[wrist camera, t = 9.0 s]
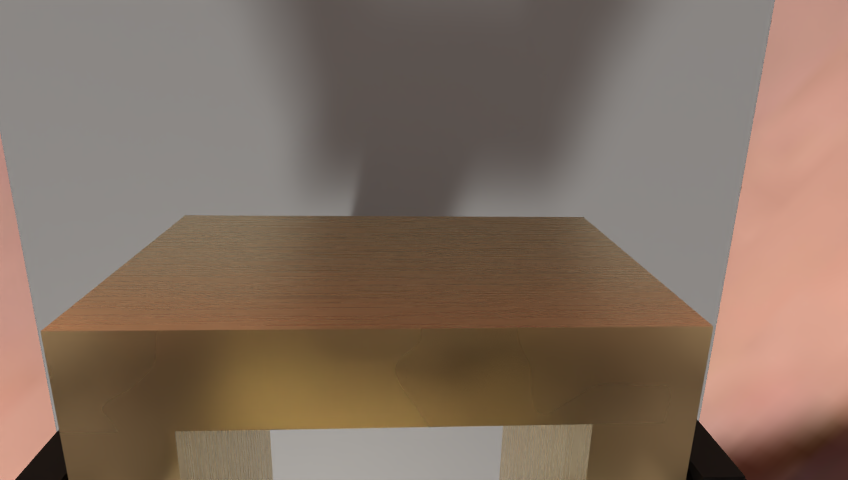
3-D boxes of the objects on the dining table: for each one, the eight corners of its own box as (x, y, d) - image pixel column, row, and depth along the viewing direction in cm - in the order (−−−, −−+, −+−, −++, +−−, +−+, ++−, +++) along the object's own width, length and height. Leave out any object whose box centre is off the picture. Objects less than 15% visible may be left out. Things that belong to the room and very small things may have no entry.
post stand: (18, -22, 16) (-242, -74, 9) (733, -2, 17) (948, -36, 11) (101, 475, 21) (-33, 672, 14) (658, 463, 22) (775, 640, 15)
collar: (184, 215, 10) (40, 331, 6) (583, 217, 11) (713, 327, 6) (217, 541, 12) (129, 799, 8) (550, 531, 13) (632, 773, 9)
